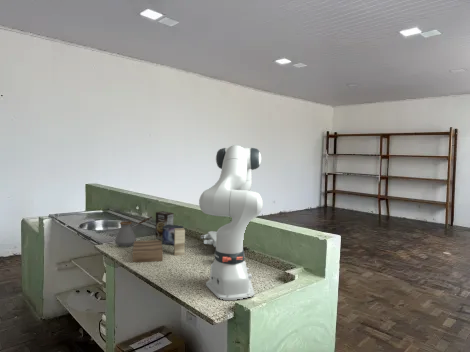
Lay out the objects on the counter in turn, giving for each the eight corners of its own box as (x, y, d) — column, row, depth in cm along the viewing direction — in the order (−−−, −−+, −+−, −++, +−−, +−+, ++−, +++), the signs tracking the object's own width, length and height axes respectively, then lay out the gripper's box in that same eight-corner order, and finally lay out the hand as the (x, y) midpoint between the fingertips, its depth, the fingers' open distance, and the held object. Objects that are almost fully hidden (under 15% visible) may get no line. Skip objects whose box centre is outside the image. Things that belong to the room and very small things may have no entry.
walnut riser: (162, 260, 160) (162, 250, 159) (132, 262, 156) (132, 252, 156) (160, 249, 179) (160, 240, 178) (134, 250, 175) (134, 241, 175)
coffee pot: (117, 249, 176) (118, 221, 175) (112, 243, 186) (112, 217, 185) (155, 244, 188) (156, 218, 187) (149, 239, 198) (149, 214, 197)
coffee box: (154, 238, 200) (155, 212, 199) (161, 236, 206) (162, 210, 205) (166, 240, 196) (167, 214, 195) (173, 238, 202) (173, 212, 200)
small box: (161, 244, 188) (161, 226, 187) (167, 241, 194) (167, 224, 193) (178, 246, 185) (178, 228, 184) (183, 243, 191) (183, 225, 190)
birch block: (184, 255, 170) (184, 230, 169) (174, 255, 169) (175, 230, 168) (183, 252, 175) (183, 228, 174) (173, 252, 173) (174, 228, 172)
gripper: (223, 228, 188) (199, 229, 184) (232, 237, 168) (205, 238, 164) (222, 239, 188) (199, 240, 185) (231, 249, 169) (205, 250, 165)
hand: (202, 239), depth 174 cm, fingers open, 8 cm apart
